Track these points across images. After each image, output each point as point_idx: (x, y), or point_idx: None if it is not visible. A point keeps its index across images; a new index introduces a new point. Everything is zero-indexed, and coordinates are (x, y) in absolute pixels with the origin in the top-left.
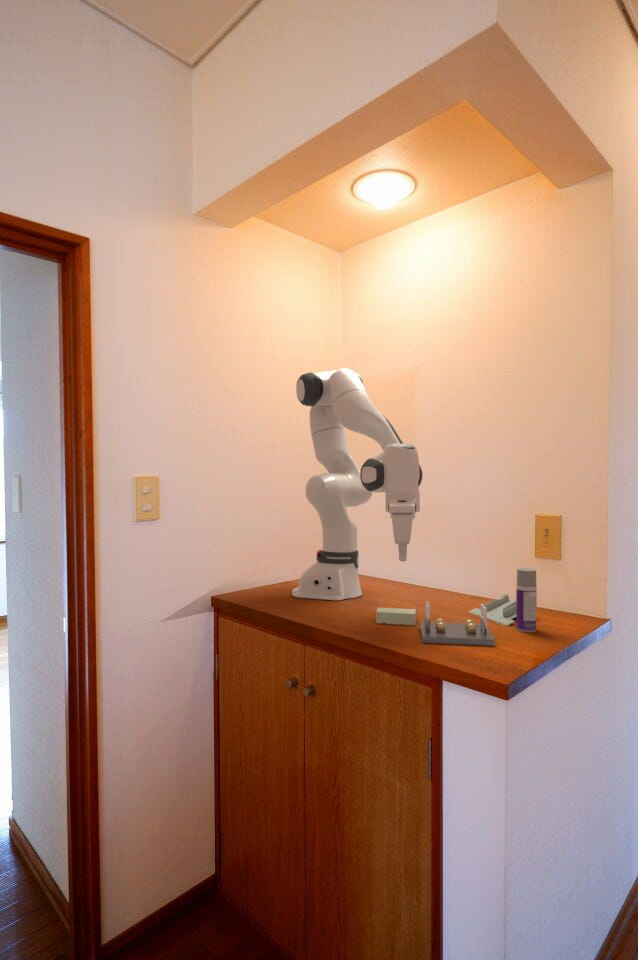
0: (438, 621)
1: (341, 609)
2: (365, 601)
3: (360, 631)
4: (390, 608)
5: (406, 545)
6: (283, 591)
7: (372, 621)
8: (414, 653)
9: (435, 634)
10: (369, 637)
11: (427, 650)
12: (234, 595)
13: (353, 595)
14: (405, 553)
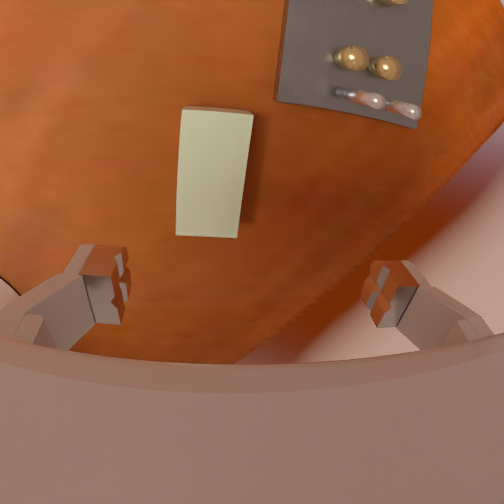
0: (366, 65)
1: None
2: (18, 256)
3: (310, 256)
4: (182, 195)
5: (488, 330)
6: None
7: None
8: (453, 159)
9: (405, 92)
10: (356, 236)
11: (444, 129)
12: None
13: (4, 287)
14: (435, 294)
